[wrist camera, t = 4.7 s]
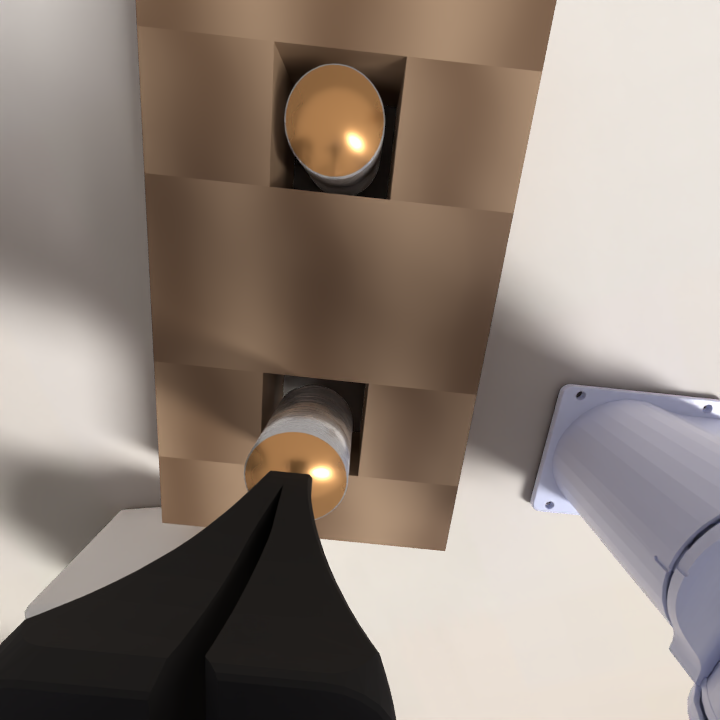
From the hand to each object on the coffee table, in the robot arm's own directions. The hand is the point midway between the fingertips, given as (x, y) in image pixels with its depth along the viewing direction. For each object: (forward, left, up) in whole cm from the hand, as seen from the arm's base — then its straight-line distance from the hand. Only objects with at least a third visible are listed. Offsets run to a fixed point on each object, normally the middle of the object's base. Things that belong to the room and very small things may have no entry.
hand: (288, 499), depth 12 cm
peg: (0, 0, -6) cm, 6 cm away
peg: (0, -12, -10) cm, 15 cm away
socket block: (0, -6, -10) cm, 11 cm away
